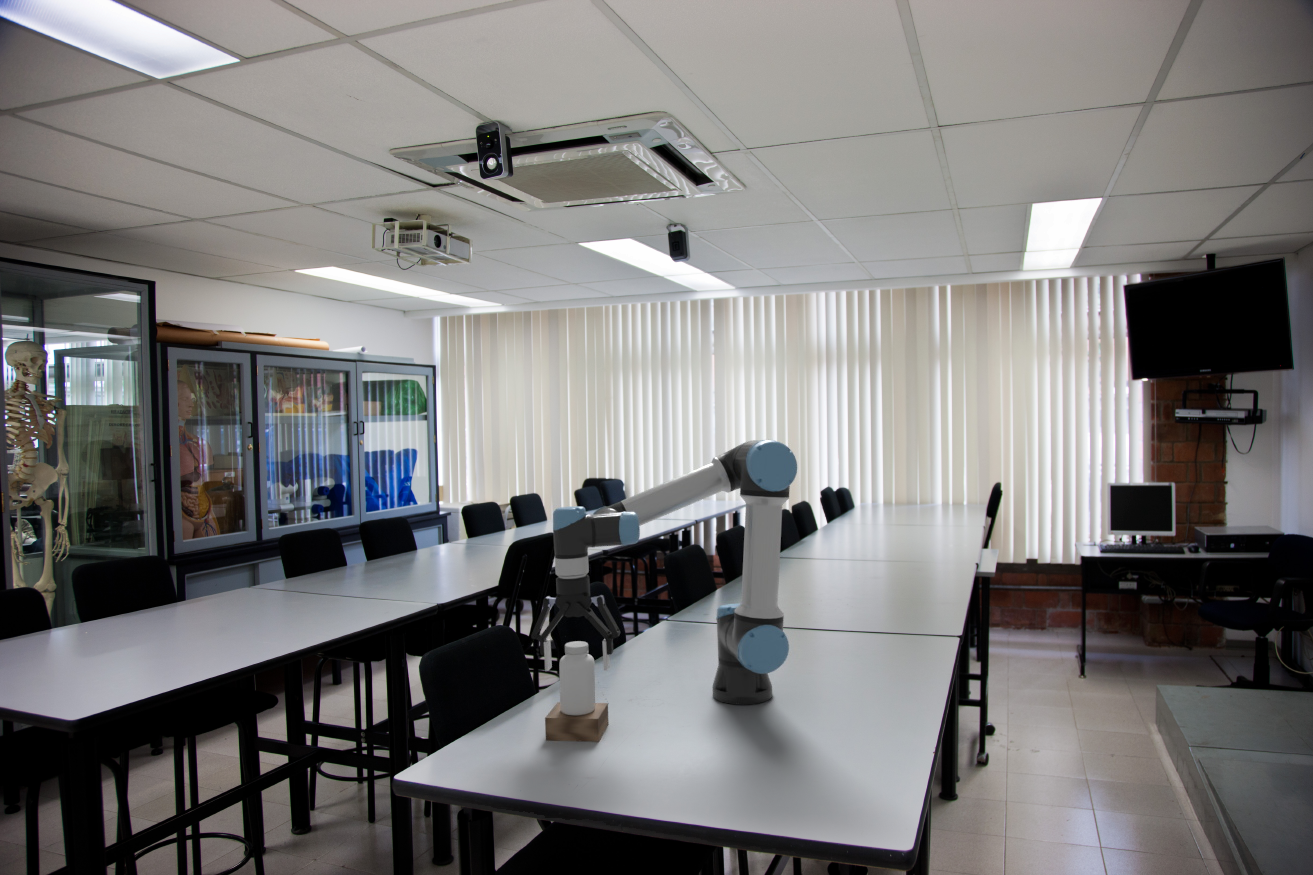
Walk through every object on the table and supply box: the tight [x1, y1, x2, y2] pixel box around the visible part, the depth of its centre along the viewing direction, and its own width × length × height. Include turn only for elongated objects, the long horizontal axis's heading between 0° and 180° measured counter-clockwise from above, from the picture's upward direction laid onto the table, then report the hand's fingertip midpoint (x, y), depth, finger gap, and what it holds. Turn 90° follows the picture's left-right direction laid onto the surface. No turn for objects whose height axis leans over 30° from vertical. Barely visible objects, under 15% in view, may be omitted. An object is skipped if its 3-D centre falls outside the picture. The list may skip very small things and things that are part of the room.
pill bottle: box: [558, 640, 596, 715], centre depth 172 cm, size 8×8×15 cm
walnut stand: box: [544, 701, 609, 743], centre depth 172 cm, size 12×10×5 cm
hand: (577, 668), depth 173 cm, fingers open, 13 cm apart
